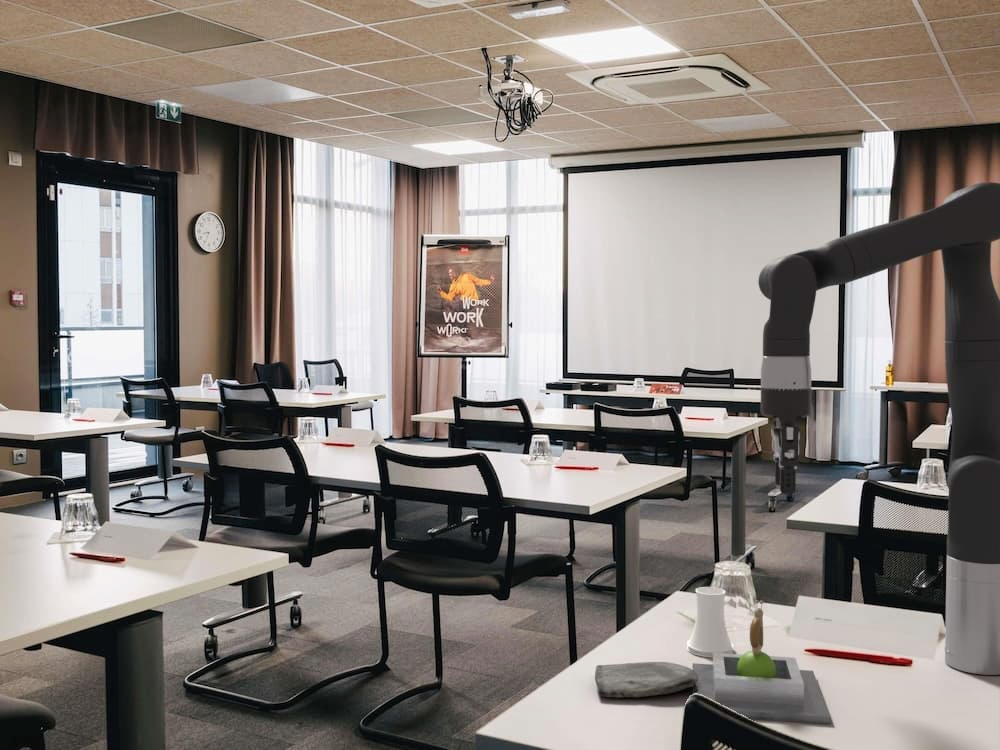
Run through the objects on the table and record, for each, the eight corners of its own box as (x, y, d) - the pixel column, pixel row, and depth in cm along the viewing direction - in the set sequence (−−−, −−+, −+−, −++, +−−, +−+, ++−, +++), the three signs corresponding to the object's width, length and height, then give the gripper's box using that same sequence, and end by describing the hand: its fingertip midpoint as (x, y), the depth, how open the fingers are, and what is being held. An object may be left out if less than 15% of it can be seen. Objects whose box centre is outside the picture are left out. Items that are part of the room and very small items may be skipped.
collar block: (812, 677, 146) (813, 651, 146) (830, 724, 128) (830, 694, 128) (692, 669, 149) (692, 644, 149) (693, 714, 132) (693, 685, 131)
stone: (696, 676, 146) (598, 688, 147) (691, 650, 146) (594, 662, 147) (703, 695, 135) (598, 708, 136) (699, 667, 135) (594, 680, 137)
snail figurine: (777, 681, 141) (778, 601, 140) (774, 697, 135) (775, 613, 134) (739, 677, 143) (740, 598, 142) (735, 692, 137) (735, 609, 136)
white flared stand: (731, 644, 161) (732, 585, 161) (734, 659, 154) (735, 597, 154) (686, 641, 163) (686, 583, 162) (687, 656, 155) (687, 595, 155)
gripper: (817, 388, 141) (815, 497, 142) (805, 383, 155) (804, 483, 155) (764, 387, 142) (763, 496, 143) (757, 383, 156) (756, 481, 157)
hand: (784, 489), depth 149 cm, fingers open, 8 cm apart
